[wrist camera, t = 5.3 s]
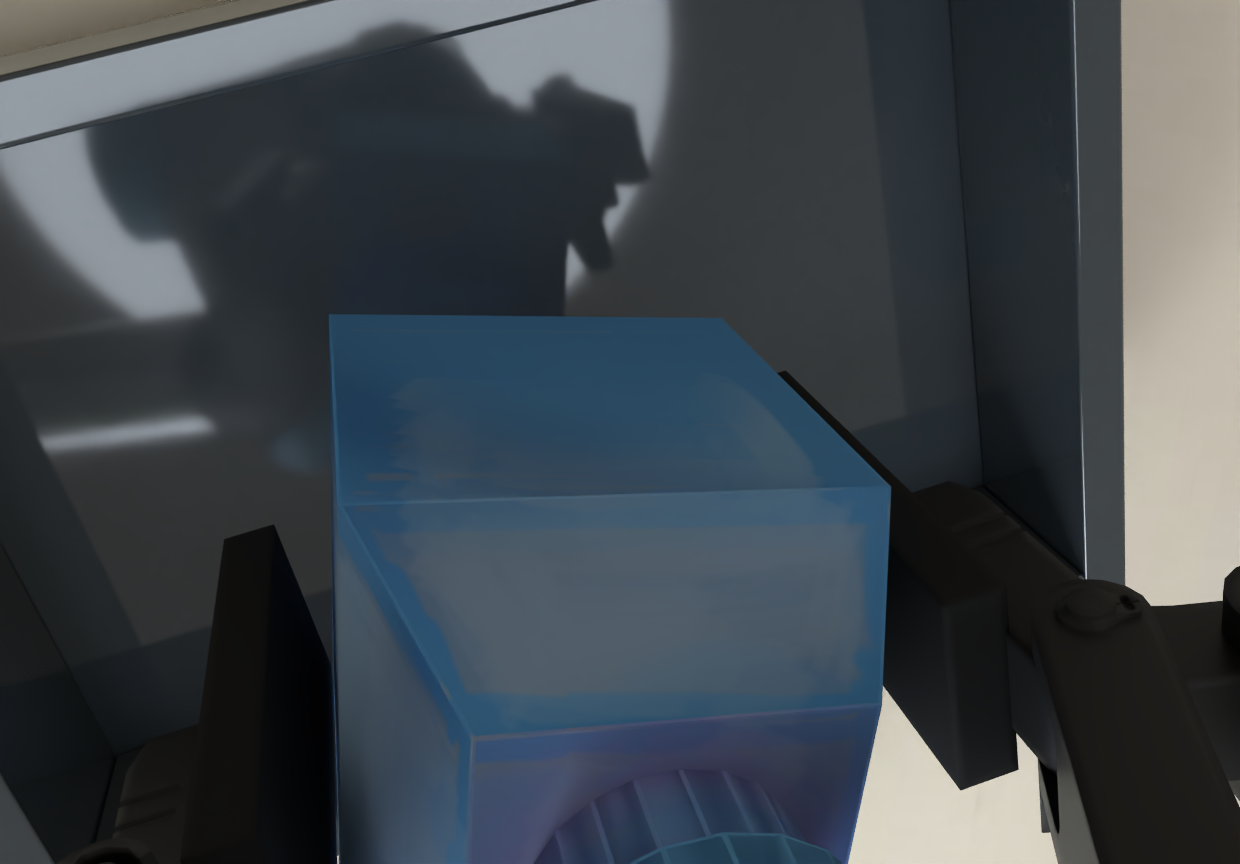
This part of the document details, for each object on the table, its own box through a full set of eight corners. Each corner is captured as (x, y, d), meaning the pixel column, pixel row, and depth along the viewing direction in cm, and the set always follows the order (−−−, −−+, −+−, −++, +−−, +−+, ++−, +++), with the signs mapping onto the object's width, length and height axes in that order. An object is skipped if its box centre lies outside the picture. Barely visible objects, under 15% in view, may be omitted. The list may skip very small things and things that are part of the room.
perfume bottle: (679, 639, 21) (1051, 1374, 11) (333, 662, 20) (359, 1550, 9) (721, 317, 19) (1258, 852, 8) (328, 313, 17) (359, 971, 7)
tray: (92, 787, 27) (48, 953, 23) (-280, 123, 20) (-447, 183, 16) (1012, 498, 30) (1126, 598, 26) (972, -178, 23) (1122, -198, 19)
